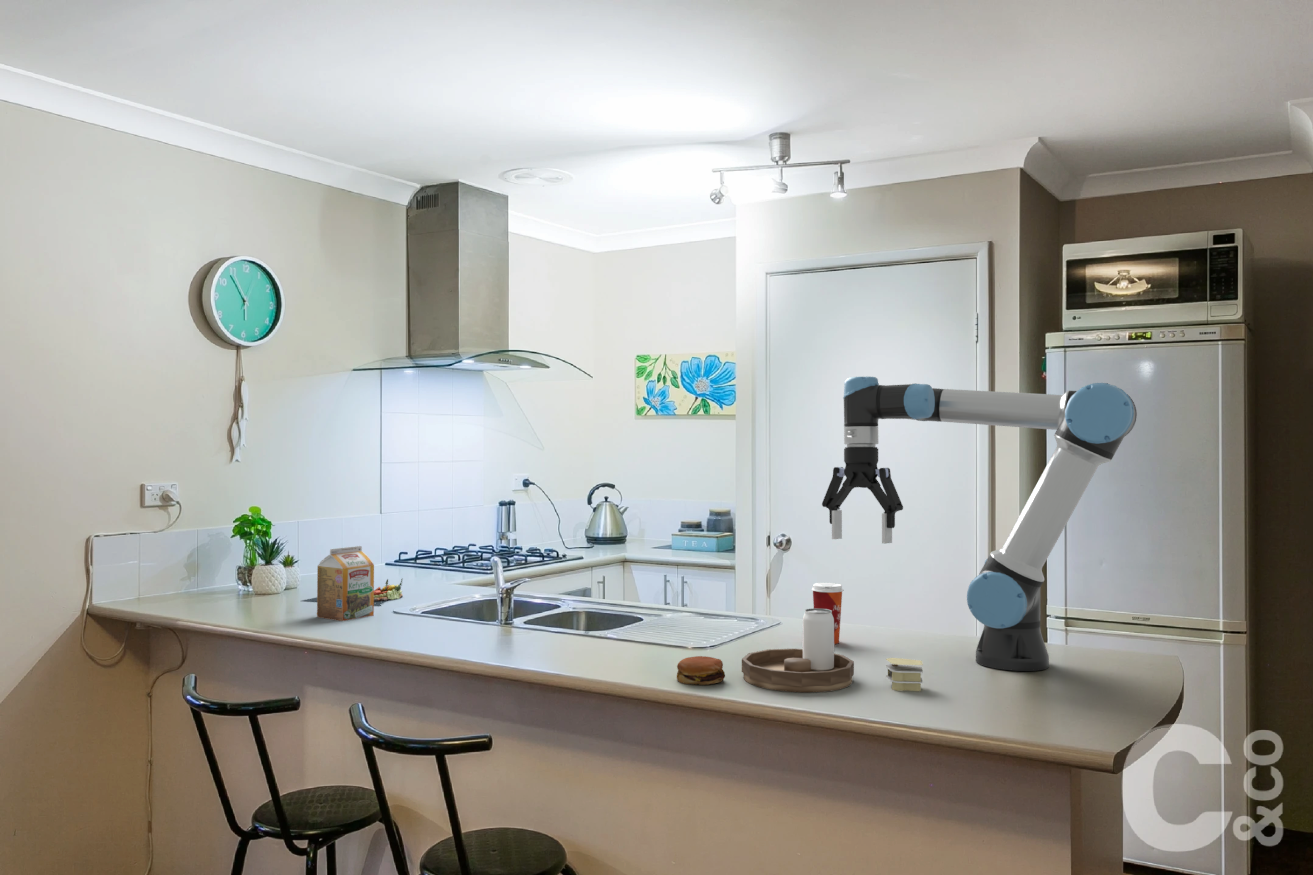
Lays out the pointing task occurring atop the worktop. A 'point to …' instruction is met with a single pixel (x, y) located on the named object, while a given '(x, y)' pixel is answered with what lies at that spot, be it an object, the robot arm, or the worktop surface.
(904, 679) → the yellow layered block
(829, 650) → the can
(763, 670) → the tray
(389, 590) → the plated dish
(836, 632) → the paper cup
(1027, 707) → the worktop surface
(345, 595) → the milk carton
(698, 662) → the burger
